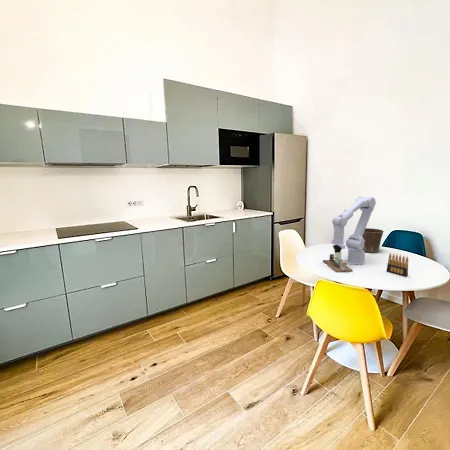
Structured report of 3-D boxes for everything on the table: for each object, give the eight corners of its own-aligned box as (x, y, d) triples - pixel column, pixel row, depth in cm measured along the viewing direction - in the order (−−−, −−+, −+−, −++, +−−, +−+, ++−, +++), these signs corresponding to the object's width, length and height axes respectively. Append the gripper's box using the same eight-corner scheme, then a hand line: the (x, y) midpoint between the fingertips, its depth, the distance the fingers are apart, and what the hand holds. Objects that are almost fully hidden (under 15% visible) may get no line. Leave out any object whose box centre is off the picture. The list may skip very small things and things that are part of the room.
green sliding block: (340, 261, 165) (340, 252, 164) (343, 263, 161) (343, 254, 160) (334, 262, 165) (335, 252, 164) (337, 264, 161) (338, 254, 160)
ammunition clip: (386, 271, 155) (388, 252, 153) (387, 271, 156) (389, 251, 154) (406, 277, 147) (408, 256, 144) (407, 276, 148) (410, 256, 145)
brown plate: (337, 261, 176) (337, 252, 175) (352, 271, 157) (353, 262, 156) (322, 261, 176) (323, 253, 175) (336, 272, 156) (336, 262, 155)
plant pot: (362, 246, 208) (363, 227, 205) (384, 250, 196) (386, 229, 193) (354, 251, 198) (355, 230, 194) (377, 255, 186) (379, 233, 183)
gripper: (327, 233, 170) (326, 253, 172) (337, 238, 155) (336, 260, 158) (338, 232, 170) (336, 252, 172) (349, 238, 156) (347, 260, 158)
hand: (337, 256), depth 165 cm, fingers closed, pressing on green sliding block
